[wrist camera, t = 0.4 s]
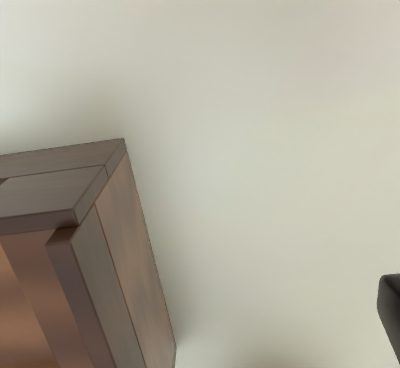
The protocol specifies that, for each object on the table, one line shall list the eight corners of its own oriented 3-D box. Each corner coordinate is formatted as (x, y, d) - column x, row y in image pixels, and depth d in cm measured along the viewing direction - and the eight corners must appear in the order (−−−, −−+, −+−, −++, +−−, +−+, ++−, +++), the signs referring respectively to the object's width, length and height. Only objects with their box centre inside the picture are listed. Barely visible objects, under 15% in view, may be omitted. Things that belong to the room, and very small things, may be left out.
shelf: (176, 347, 28) (164, 497, 19) (-3, 364, 30) (-94, 514, 20) (124, 137, 21) (62, 222, 12) (-116, 171, 22) (-344, 273, 13)
